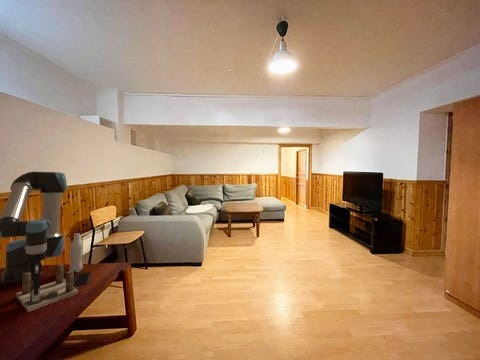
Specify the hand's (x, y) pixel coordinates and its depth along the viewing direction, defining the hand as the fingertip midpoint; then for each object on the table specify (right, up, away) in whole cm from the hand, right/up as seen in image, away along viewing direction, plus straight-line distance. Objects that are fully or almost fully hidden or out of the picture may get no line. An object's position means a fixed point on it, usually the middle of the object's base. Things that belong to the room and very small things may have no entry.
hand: (35, 298), depth 109 cm
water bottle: (-7, -2, +36) cm, 37 cm away
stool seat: (-1, -3, +8) cm, 8 cm away
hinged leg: (+2, -1, +2) cm, 3 cm away
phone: (+4, -3, +26) cm, 27 cm away
